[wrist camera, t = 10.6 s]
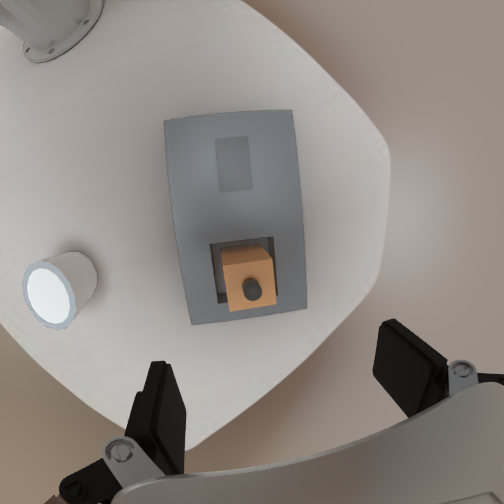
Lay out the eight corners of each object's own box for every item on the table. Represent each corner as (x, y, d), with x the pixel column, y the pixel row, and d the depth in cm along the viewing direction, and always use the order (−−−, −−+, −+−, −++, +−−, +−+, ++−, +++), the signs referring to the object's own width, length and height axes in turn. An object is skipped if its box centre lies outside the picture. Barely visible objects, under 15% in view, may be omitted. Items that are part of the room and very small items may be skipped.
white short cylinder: (57, 238, 25) (23, 251, 18) (106, 256, 26) (78, 275, 19) (52, 292, 26) (22, 315, 19) (98, 311, 27) (74, 340, 20)
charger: (220, 249, 28) (223, 271, 20) (259, 243, 28) (276, 263, 20) (226, 285, 29) (230, 319, 21) (263, 280, 29) (280, 311, 21)
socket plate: (168, 126, 24) (163, 120, 21) (285, 116, 25) (292, 109, 23) (193, 314, 29) (191, 326, 26) (300, 299, 30) (307, 309, 27)
